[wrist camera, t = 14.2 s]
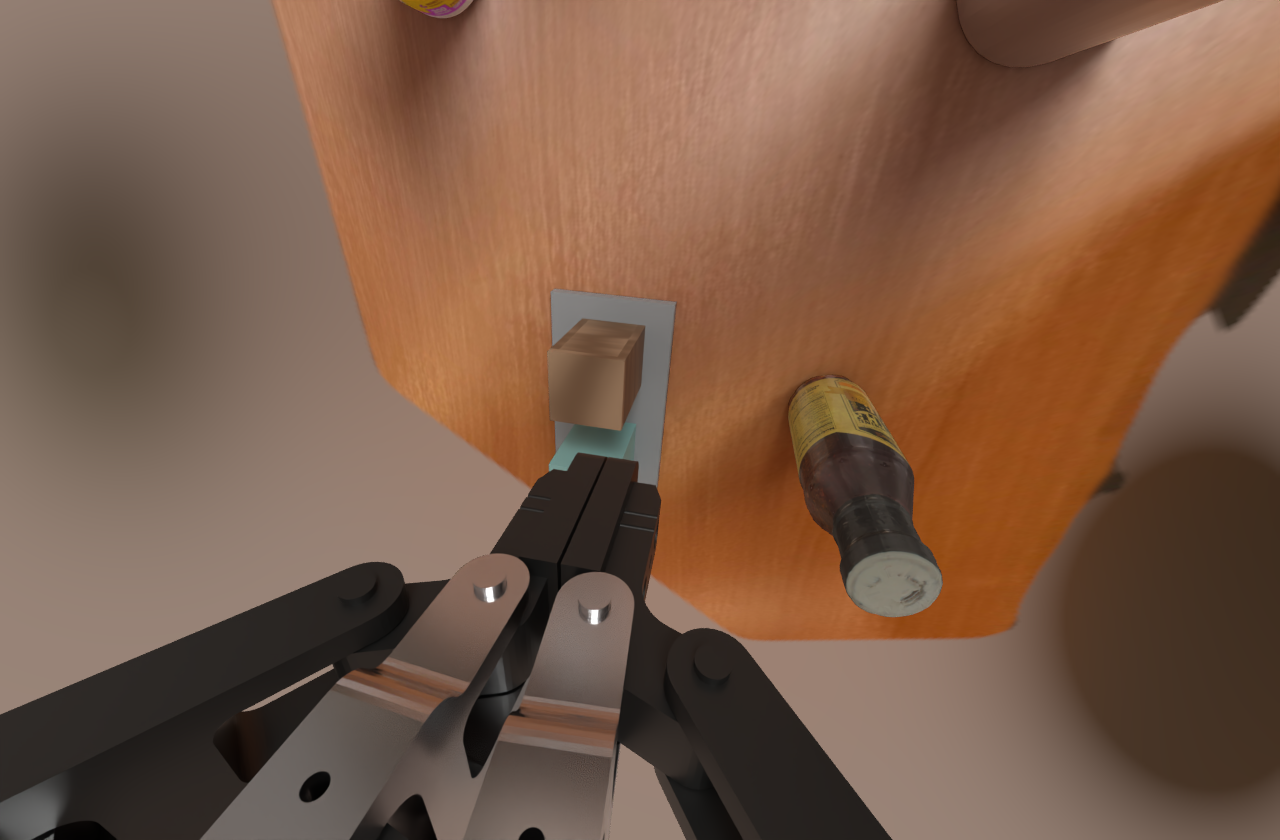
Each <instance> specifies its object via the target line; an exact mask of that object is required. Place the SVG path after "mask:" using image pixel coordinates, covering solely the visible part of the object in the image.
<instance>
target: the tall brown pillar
mask: <svg viewBox="0 0 1280 840" xmlns="http://www.w3.org/2000/svg"><path fill="white" fill-rule="evenodd" d="M644 339H645V326H644V325H636V324H627V323H619V322H610V321H602V320H593V319H584V318H582V319H581V320H580V321H579V322H578V323H577V324H576V325H575V326H574V327H573V328H571V329H570V330H569V331H568V332H567V333H566V334H565V335H564V336H563V337H562V338H561V339H560V340H559V341H558V342H557V343H556V344H554V345H553V346H552V347H551V348H550V349H549V350H548V351H547V357H548V384H549V411H550V420H551V421H558V422H564V423H571V424H578V425H585V426H592V427H598V428H605V429H612V430H619V431H621V430H622V428H623V425H624V423H625V421H626V419H627V416H628V414H629V412H630V410H631V407H632V405H633V403H634V400H635V398H636V396H637V394H638V391H639V389H640V387H641V381H642V367H643V353H644Z"/></svg>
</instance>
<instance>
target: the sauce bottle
mask: <svg viewBox="0 0 1280 840" xmlns="http://www.w3.org/2000/svg"><path fill="white" fill-rule="evenodd" d="M788 421H789V426H790V432H791V437H792V442H793V448H794V453H795V459H796V464H797V469H798V474H799V480H800V483H801V486H802V488H803V490H804V496H805V502H806V505H807V508H808V510H809V512H810V514H811V516H812V518H813V520H814V521H815V522H816V523H817V524H818V525H819V526H820V527H821V528H822V529H824V530H825V531H827V532H829V534H831V535H833V537H834V539H835V541H836V543H837V545H838V547H839V551H840V555H841V563H840V572H841V575H842V579H843V583H844V586H845V589H846V592H847V594H848V595H849V597H850V598H851V599H852V601H853V602H854V603H855V604H856V605H857V606H858V607H860V608H861V609H863V610H865V611H867V612H869V613H873V614H878V615H881V616H885V617H901V616H907V615H912V614H915V613H917V612H920V611H922V610H924V609H926V608H928V607H929V606H930V605H931V604H932V603H933V602H934V601H935V600H936V598H937V597H938V595H939V593H940V591H941V588H942V584H943V582H942V574H941V571H940V569H939V567H938V565H937V563H936V560H935V558H934V556H933V554H932V552H931V550H930V549H929V548H928V547H927V546H926V545H924V544H923V543H922V542H921V540H920V537H919V536H918V534H917V532H916V530H915V528H914V526H913V521H912V514H913V493H914V475H913V471H912V469H911V467H910V465H909V463H908V462H907V460H906V458H905V457H904V455H903V453H902V452H901V450H900V449H899V447H898V445H897V444H896V442H895V440H894V438H893V437H892V435H891V433H890V432H889V430H888V429H887V427H886V426H885V424H884V422H883V420H882V419H881V417H880V416H879V414H878V412H877V411H876V409H875V407H874V406H873V404H872V403H871V401H870V399H869V398H868V396H867V395H866V393H865V392H864V391H863V390H862V389H861V388H860V387H859V386H858V385H856V384H855V383H853V382H852V381H850V380H849V379H847V378H845V377H843V376H836V375H826V376H818V377H815V378H811V379H809V380H808V381H807V382H805V383H804V384H802V385H801V386H800V387H799V388H798V389H797V390H796V391H795V393H794V394H793V396H792V397H791V399H790V401H789V412H788Z"/></svg>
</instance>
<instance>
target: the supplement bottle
mask: <svg viewBox="0 0 1280 840" xmlns="http://www.w3.org/2000/svg"><path fill="white" fill-rule="evenodd" d="M399 1H401V2H403V3H404V4H406V5H408V6H410V7H412V8H414V9H416V10H418V11H419V12H422V13H424V14H426V15H428V16H431V17H436V18H450V17H453V16H456V15H458V14H460V13H461V12H463V11H464V10H465V9H466V8H467V7H468V6H469V5H470V4H471V3H472V1H473V0H399Z"/></svg>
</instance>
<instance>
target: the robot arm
mask: <svg viewBox="0 0 1280 840" xmlns="http://www.w3.org/2000/svg"><path fill="white" fill-rule="evenodd" d="M1220 1H1223V0H957V9H958V15H959V21H960V25H961V27H962V29H963V32H964V34H965V36H966V38H967V40H968V42H969V43H970V44H971V45H972V46H973V48H974V49H975V50H976V51H977V53H979V54H980V55H982V56H983V57H985V58H986V59H988V60H989V61H991V62H993V63H997V64H1000V65H1003V66H1007V67H1031V66H1036V65H1041V64H1046V63H1049V62H1052V61H1055V60H1057V59H1060V58H1063V57H1066V56H1069V55H1071V54H1074V53H1077V52H1080V51H1083V50H1085V49H1088V48H1091V47H1094V46H1097V45H1100V44H1103V43H1106V42H1109V41H1111V40H1114V39H1117V38H1120V37H1123V36H1125V35H1128V34H1131V33H1134V32H1137V31H1139V30H1142V29H1145V28H1148V27H1151V26H1153V25H1156V24H1159V23H1162V22H1164V21H1167V20H1170V19H1173V18H1176V17H1178V16H1181V15H1184V14H1187V13H1190V12H1192V11H1195V10H1198V9H1201V8H1204V7H1206V6H1209V5H1212V4H1215V3H1218V2H1220ZM638 470H639V463H638V461H632V460H626V459H619V458H613V457H606V456H599V455H593V454H586V453H580V452H578V453H577V454H576V455H575V457H574V459H573V461H572V462H571V464H570V466H569V468H568V469H567V471H563V470H557V469H553V470H551V471H550V472H548V473H547V474H545V475H544V476H542V477H541V478H540V479H538V480H537V481H536V483H535V485H534V486H533V488H532V489H531V491H530V492H529V494H528V497H526V499H525V500H524V502H523V503H522V505H521V507H520V509H518V511H517V513H516V514H515V516H514V517H513V519H512V520H511V522H510V523H509V525H508V527H507V528H506V530H505V531H504V533H503V534H502V536H501V538H500V539H499V540H498V542H497V544H496V545H495V547H494V548H493V550H492V551H491V553H490V554H489V555H483V556H481V557H477V558H475V559H473V560H471V561H469V562H468V563H466V564H465V565H463V566H462V567H461V568H460V569H459V570H458V571H457V572H456V573H455V575H454V576H453V577H452V578H451V579H448V580H442V581H431V582H420V583H408V584H405V582H404V578H403V575H402V573H401V571H400V570H399V569H398V568H397V567H395V566H393V565H391V564H388V563H384V562H369V563H363V564H359V565H356V566H353V567H350V568H348V569H345V570H343V571H340V572H338V573H336V574H333V575H331V576H329V577H326V578H324V579H322V580H319V581H317V582H315V583H312V584H310V585H307V586H305V587H302V588H300V589H298V590H295V591H293V592H291V593H288V594H286V595H283V596H281V597H279V598H276V599H274V600H272V601H269V602H267V603H264V604H262V605H260V606H257V607H255V608H253V609H250V610H248V611H245V612H243V613H241V614H238V615H236V616H234V617H232V618H229V619H227V620H225V621H222V622H219V623H217V624H215V625H212V626H210V627H207V628H205V629H203V630H200V631H198V632H196V633H193V634H191V635H189V636H186V637H184V638H181V639H179V640H177V641H174V642H172V643H170V644H167V645H165V646H163V647H160V648H158V649H155V650H153V651H150V652H148V653H146V654H143V655H141V656H139V657H137V658H134V659H131V660H129V661H127V662H124V663H122V664H120V665H117V666H115V667H113V668H110V669H108V670H106V671H103V672H101V673H98V674H96V675H93V676H91V677H89V678H86V679H84V680H82V681H79V682H77V683H74V684H72V685H70V686H67V687H65V688H63V689H60V690H58V691H56V692H53V693H51V694H48V695H46V696H44V697H41V698H39V699H37V700H34V701H32V702H29V703H27V704H25V705H22V706H20V707H17V708H15V709H13V710H10V711H8V712H6V713H3V714H1V715H0V840H609V834H610V825H611V816H612V808H613V800H614V792H615V785H616V777H617V769H618V761H619V752H620V745H621V744H623V745H624V746H626V747H627V748H629V749H630V750H631V751H633V752H635V753H636V754H637V755H639V756H640V757H642V758H643V759H645V760H646V761H647V762H649V763H650V764H652V765H653V766H654V769H655V773H656V775H657V778H658V780H659V783H660V785H661V787H662V789H663V791H664V793H665V795H666V797H667V800H668V802H669V804H670V806H671V808H672V810H673V812H674V814H675V817H676V819H677V821H678V823H679V825H680V827H681V829H682V832H683V834H684V836H685V838H686V840H892V839H891V837H890V836H889V835H888V834H887V833H886V831H885V830H884V828H883V827H882V826H881V824H880V823H879V822H878V821H877V819H876V818H875V817H874V815H873V814H872V813H871V812H870V810H869V809H868V808H867V807H866V805H865V804H864V802H863V801H862V800H861V798H860V797H859V796H858V795H857V793H856V792H855V791H854V789H853V788H852V787H851V786H850V784H849V783H848V781H847V780H846V779H845V778H844V777H843V775H842V774H841V773H840V771H839V770H838V768H837V767H836V766H835V765H834V763H833V762H832V761H831V759H830V758H829V757H828V755H827V754H826V753H825V751H824V750H823V749H822V748H821V746H820V745H819V744H818V742H817V741H816V740H815V739H814V737H813V736H812V735H811V733H810V732H809V731H808V729H807V728H806V727H805V725H804V724H803V723H802V722H801V720H800V719H799V718H798V716H797V715H796V714H795V712H794V711H793V710H792V708H791V707H790V706H789V705H788V703H787V702H786V701H785V700H784V698H783V697H782V696H781V694H780V693H779V692H778V690H777V689H776V688H775V686H774V685H773V684H772V682H771V681H770V680H769V679H768V677H767V676H766V675H765V673H764V672H763V671H762V670H761V668H760V667H759V666H758V664H757V663H756V662H755V660H754V659H753V658H752V657H751V655H750V654H749V653H748V651H747V650H746V649H745V648H744V647H743V646H742V644H741V643H739V642H738V641H737V640H736V639H735V638H733V637H731V636H730V635H728V634H726V633H724V632H722V631H718V630H715V629H709V628H699V629H693V630H690V631H688V632H686V633H684V634H681V633H679V632H677V631H676V630H674V629H672V628H670V627H668V626H667V625H665V624H663V623H662V622H660V621H659V620H658V619H657V618H656V617H654V616H653V614H652V613H650V611H649V609H648V607H647V606H646V604H645V598H646V593H647V589H648V584H649V579H650V574H651V569H652V564H653V560H654V555H655V550H656V543H657V534H658V525H659V515H660V506H661V498H660V496H659V493H658V490H657V488H656V485H651V484H645V483H639V482H638ZM331 664H333V667H334V669H332V670H331V671H329V672H327V673H325V674H323V675H321V676H319V677H317V678H315V679H314V680H312V681H310V682H308V683H306V684H304V685H302V686H300V687H298V688H297V689H295V690H293V691H291V692H289V693H287V694H285V695H283V696H281V697H280V698H278V699H276V700H274V701H272V702H270V703H268V704H266V705H264V706H263V707H260V708H258V709H255V710H251V711H245V712H241V711H243V710H245V709H247V708H249V707H251V706H253V705H255V704H256V703H258V702H260V701H262V700H264V699H266V698H268V697H270V696H272V695H274V694H275V693H277V692H279V691H281V690H283V689H285V688H287V687H289V686H291V685H293V684H295V683H296V682H298V681H300V680H302V679H304V678H306V677H308V676H310V675H312V674H314V673H316V672H318V671H319V670H321V669H323V668H325V667H327V666H329V665H331Z"/></svg>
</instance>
